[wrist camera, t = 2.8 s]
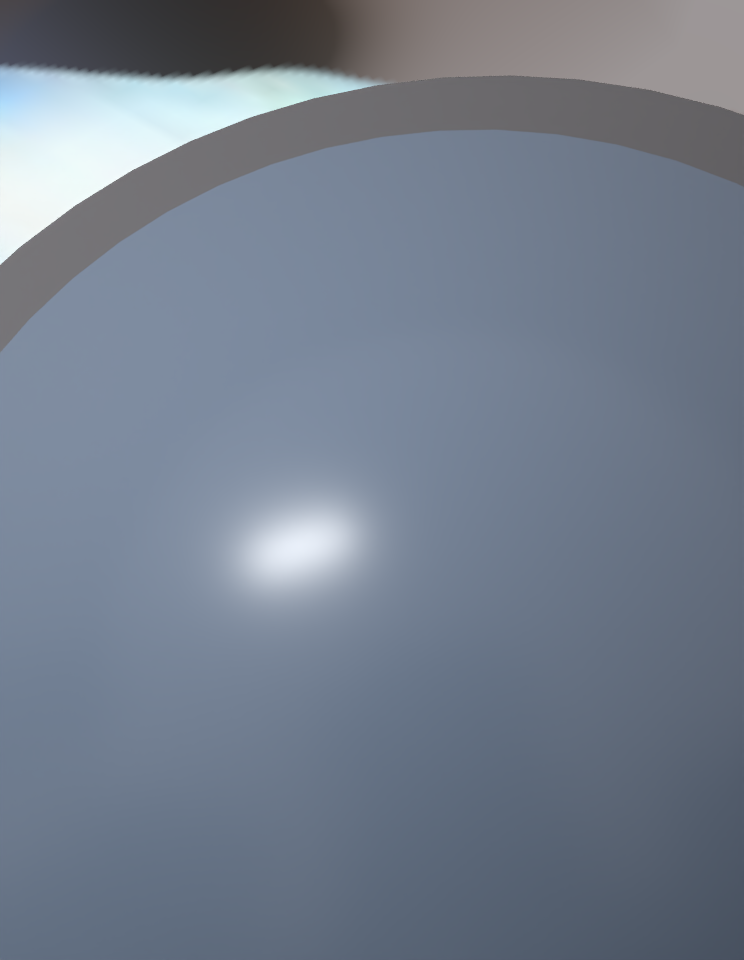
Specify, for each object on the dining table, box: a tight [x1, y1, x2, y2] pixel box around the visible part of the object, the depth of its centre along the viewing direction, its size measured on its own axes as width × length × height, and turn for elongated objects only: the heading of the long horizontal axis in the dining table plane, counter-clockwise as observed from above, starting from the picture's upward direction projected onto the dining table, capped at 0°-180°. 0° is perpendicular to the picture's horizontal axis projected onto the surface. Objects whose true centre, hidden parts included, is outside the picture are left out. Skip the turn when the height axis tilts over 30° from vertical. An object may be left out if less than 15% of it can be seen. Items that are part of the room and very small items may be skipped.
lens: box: [0, 76, 744, 960], centre depth 9 cm, size 6×6×14 cm
